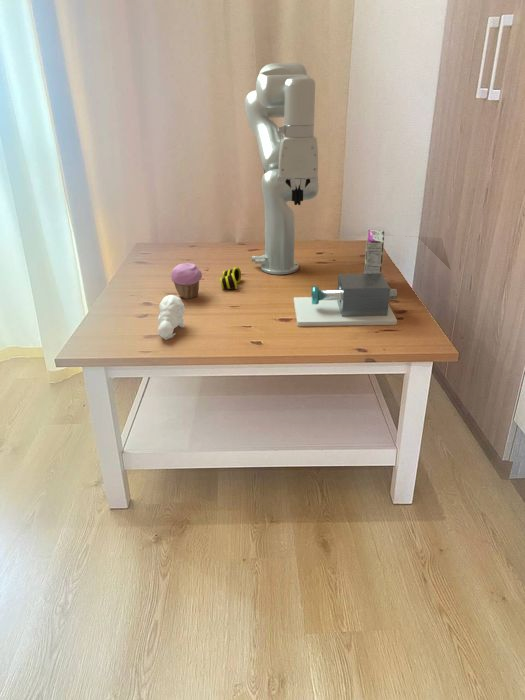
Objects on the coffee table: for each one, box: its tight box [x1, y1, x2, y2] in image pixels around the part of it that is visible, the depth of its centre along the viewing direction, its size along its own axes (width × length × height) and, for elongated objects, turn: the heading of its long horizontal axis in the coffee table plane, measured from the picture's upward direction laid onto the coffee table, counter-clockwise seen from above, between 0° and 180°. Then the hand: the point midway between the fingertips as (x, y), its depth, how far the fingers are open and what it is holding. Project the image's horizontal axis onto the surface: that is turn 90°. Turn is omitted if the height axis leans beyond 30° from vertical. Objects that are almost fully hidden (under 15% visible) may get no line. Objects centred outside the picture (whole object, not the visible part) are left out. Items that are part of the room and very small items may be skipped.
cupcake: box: [170, 262, 203, 300], centre depth 157 cm, size 9×9×10 cm
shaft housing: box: [337, 272, 391, 317], centre depth 145 cm, size 12×10×8 cm
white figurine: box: [157, 294, 185, 341], centre depth 137 cm, size 6×8×12 cm
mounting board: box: [293, 296, 398, 327], centre depth 148 cm, size 26×16×1 cm, turn 91°
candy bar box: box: [363, 229, 385, 274], centre depth 159 cm, size 11×5×16 cm, turn 168°
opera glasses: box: [219, 266, 242, 290], centre depth 165 cm, size 10×5×5 cm, turn 174°
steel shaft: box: [310, 285, 398, 304], centre depth 145 cm, size 23×5×5 cm, turn 91°
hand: (297, 203), depth 146 cm, fingers closed
